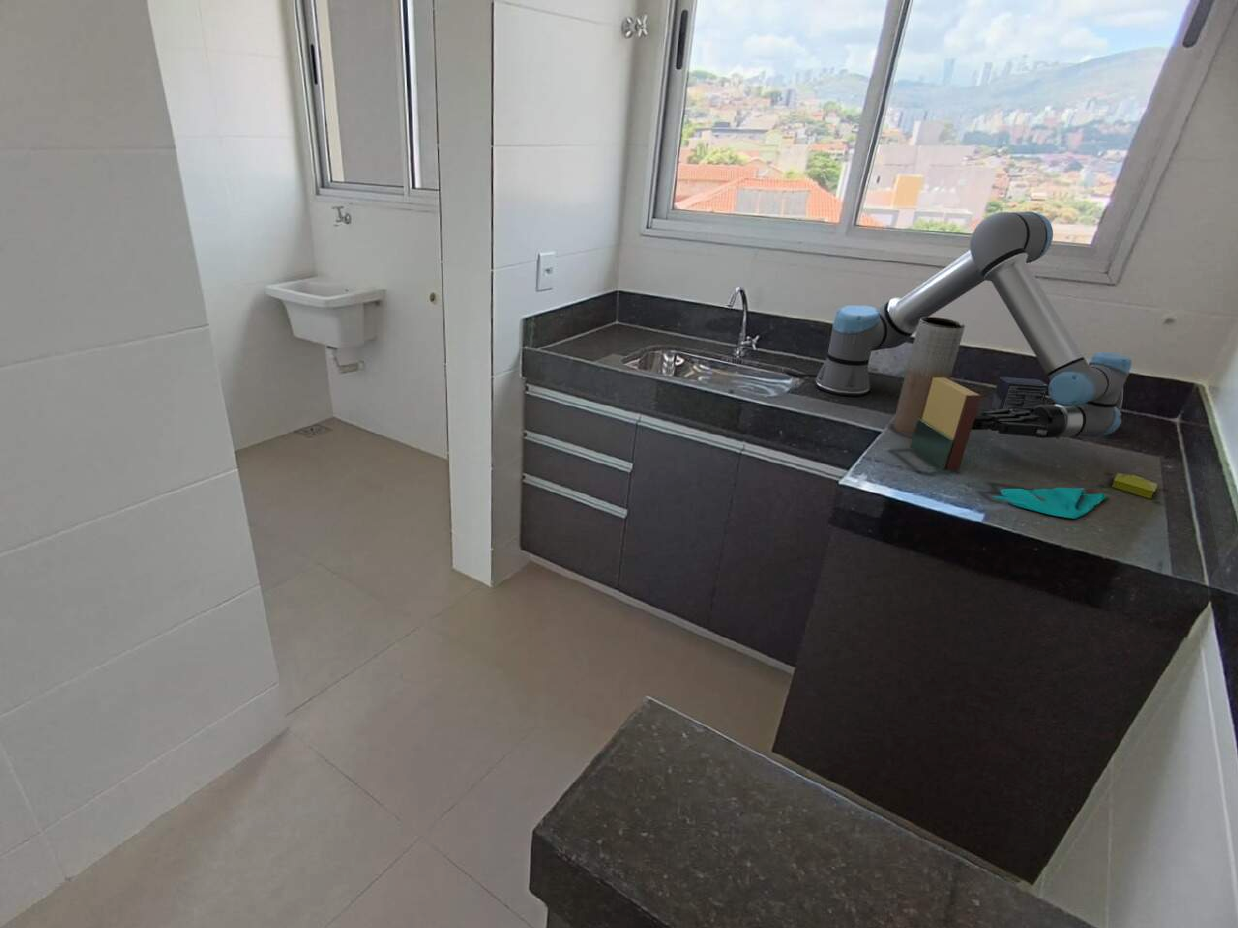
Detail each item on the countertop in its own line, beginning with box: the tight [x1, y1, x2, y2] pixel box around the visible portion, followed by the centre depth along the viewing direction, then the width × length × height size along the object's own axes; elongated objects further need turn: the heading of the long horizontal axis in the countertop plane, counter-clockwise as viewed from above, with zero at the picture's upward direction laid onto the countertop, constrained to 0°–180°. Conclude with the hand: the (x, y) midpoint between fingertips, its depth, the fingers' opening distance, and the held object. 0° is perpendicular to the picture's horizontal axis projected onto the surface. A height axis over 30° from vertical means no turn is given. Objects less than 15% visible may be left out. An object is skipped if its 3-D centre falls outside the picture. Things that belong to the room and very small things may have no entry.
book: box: [922, 377, 982, 471], centre depth 146 cm, size 3×12×18 cm, turn 11°
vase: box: [892, 316, 966, 436], centre depth 160 cm, size 10×10×28 cm
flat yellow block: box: [1111, 472, 1164, 504], centre depth 142 cm, size 10×9×3 cm
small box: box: [988, 376, 1049, 412], centre depth 177 cm, size 11×6×10 cm, turn 84°
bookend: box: [910, 419, 953, 471], centre depth 147 cm, size 5×12×8 cm, turn 11°
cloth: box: [992, 486, 1108, 520], centre depth 134 cm, size 26×14×2 cm, turn 84°
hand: (963, 423), depth 147 cm, fingers closed
